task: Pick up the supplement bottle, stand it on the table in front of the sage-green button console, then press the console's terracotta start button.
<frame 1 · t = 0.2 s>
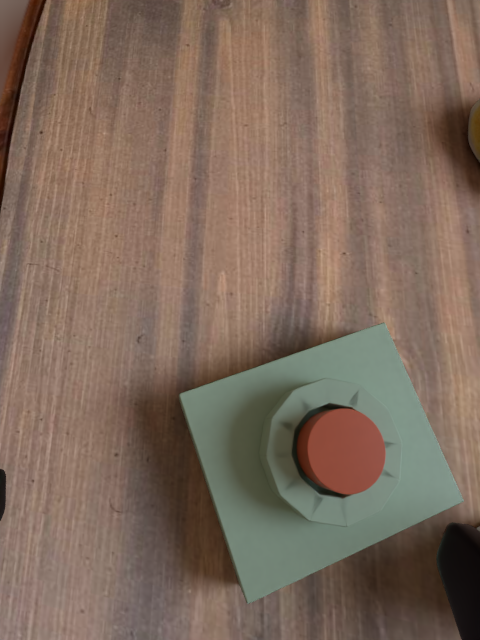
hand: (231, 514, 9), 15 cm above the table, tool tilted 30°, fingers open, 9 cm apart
start button: (339, 449, 19), point 5 cm above the table, slide at 0.1 cm
console: (308, 447, 24), on the table
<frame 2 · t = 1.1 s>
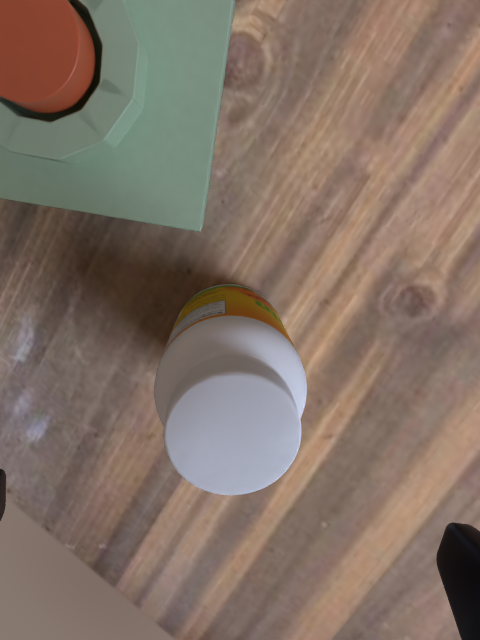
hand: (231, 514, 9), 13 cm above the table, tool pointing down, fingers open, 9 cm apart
start button: (30, 45, 14), point 5 cm above the table, slide at 0.1 cm
console: (80, 86, 18), on the table
supplement bottle: (228, 333, 22), on the table
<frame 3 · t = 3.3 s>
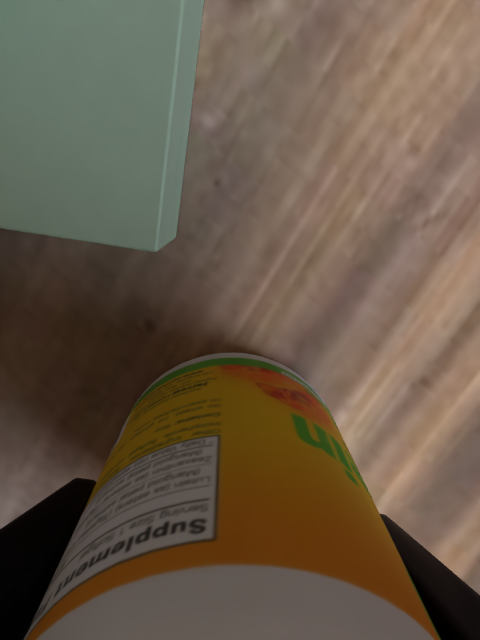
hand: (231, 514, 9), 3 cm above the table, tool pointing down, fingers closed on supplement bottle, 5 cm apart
supplement bottle: (229, 441, 11), on the table, touching gripper
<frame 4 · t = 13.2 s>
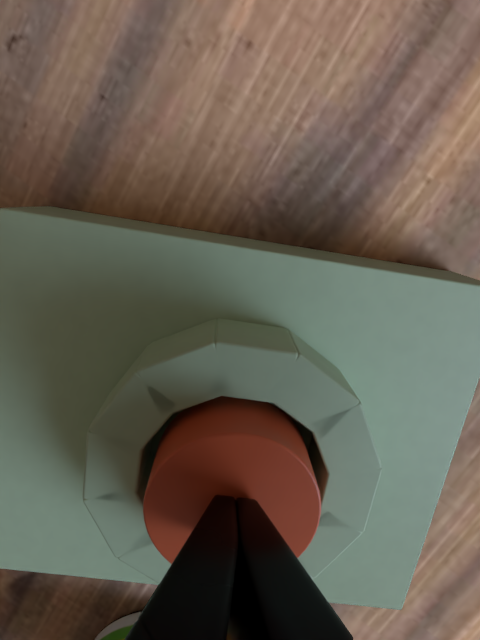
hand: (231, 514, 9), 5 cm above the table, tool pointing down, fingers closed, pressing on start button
start button: (232, 485, 9), point 5 cm above the table, slide at -0.3 cm, touching gripper
console: (230, 395, 14), on the table
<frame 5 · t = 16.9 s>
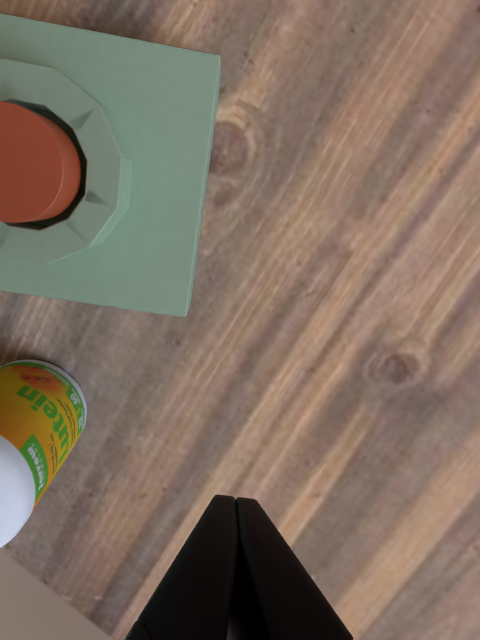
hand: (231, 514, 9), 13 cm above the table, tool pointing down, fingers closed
start button: (18, 166, 14), point 5 cm above the table, slide at 0.1 cm
console: (70, 174, 19), on the table
supplement bottle: (37, 404, 22), on the table
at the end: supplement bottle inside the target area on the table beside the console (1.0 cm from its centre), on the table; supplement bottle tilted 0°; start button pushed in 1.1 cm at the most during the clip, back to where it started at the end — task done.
